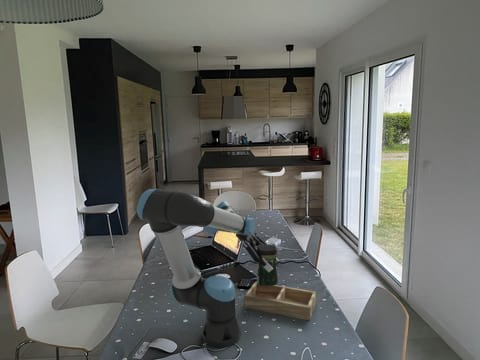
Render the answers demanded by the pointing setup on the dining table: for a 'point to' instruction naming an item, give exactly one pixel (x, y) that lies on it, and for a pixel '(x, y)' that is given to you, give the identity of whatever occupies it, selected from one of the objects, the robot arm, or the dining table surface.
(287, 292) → the jar crate
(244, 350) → the dining table surface
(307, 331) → the dining table surface
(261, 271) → the coffee jar
